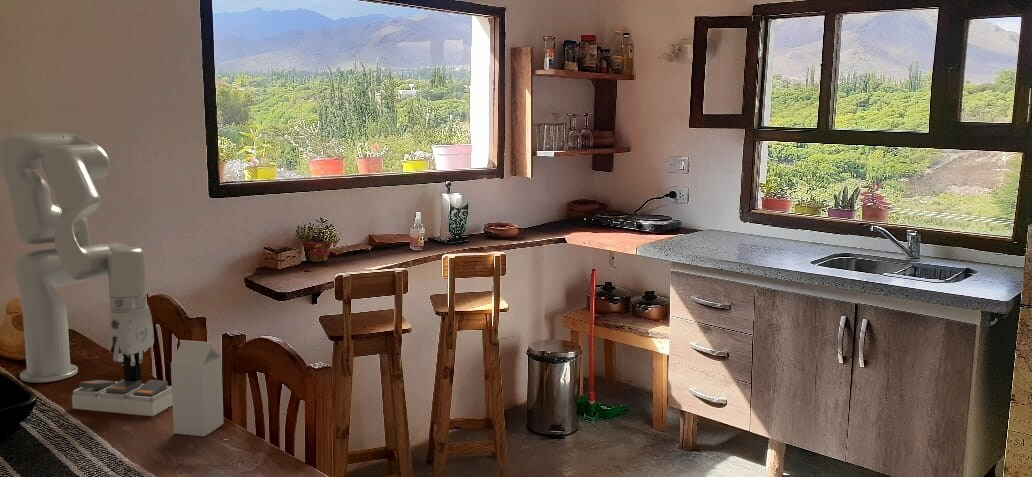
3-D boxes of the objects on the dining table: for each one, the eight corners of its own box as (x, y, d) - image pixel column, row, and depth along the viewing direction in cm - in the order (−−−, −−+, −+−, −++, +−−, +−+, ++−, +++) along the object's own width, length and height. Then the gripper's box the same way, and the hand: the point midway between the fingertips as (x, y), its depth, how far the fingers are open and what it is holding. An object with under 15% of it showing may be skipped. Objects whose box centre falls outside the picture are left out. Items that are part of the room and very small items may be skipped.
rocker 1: (79, 387, 183) (79, 381, 183) (97, 384, 189) (98, 379, 189) (96, 388, 182) (96, 383, 182) (114, 385, 188) (115, 380, 188)
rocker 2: (106, 393, 182) (105, 388, 182) (124, 382, 188) (123, 378, 187) (124, 394, 181) (123, 389, 181) (141, 384, 187) (140, 379, 186)
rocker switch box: (72, 408, 183) (71, 391, 182) (98, 396, 191) (97, 379, 190) (153, 416, 179) (152, 398, 178) (176, 403, 187) (175, 386, 186)
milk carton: (204, 437, 168) (201, 347, 165) (173, 434, 169) (169, 344, 166) (223, 424, 175) (220, 338, 172) (193, 421, 176) (190, 335, 173)
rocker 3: (134, 397, 181) (133, 392, 180) (150, 383, 186) (149, 379, 186) (152, 398, 180) (151, 394, 179) (168, 384, 185) (167, 380, 185)
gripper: (121, 310, 176) (126, 393, 179) (163, 296, 191) (167, 372, 193) (90, 308, 178) (95, 390, 180) (135, 294, 192) (139, 370, 195)
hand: (132, 381), depth 187 cm, fingers closed
